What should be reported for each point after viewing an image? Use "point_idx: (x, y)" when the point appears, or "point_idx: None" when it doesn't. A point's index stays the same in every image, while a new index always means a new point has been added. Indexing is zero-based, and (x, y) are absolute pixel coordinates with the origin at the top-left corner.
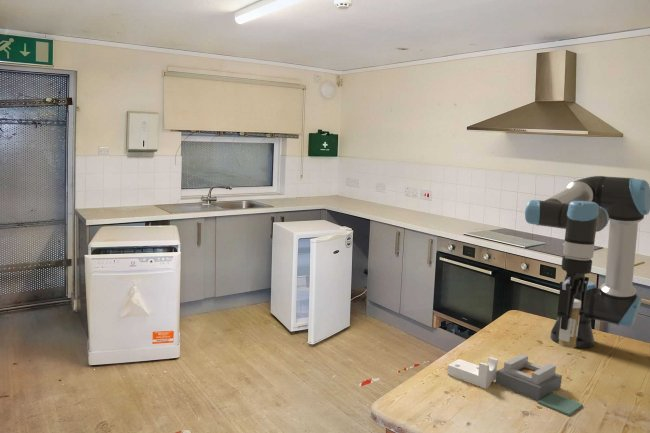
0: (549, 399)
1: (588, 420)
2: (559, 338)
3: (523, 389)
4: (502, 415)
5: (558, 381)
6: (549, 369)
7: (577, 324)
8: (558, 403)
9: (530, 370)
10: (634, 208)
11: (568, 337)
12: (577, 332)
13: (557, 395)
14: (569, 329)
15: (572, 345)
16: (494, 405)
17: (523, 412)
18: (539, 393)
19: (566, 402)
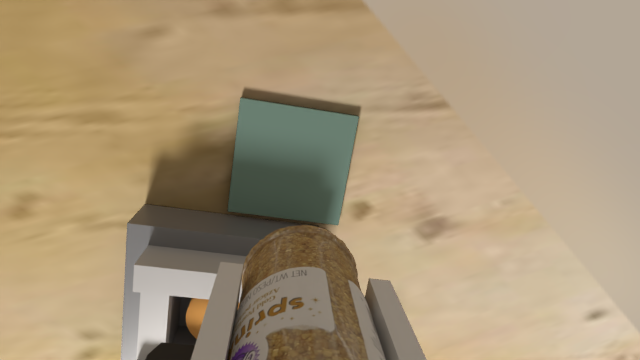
0: (294, 201)
1: (341, 52)
2: None
3: None
4: (494, 269)
5: (160, 219)
6: (200, 271)
7: (322, 339)
8: (302, 168)
9: (187, 324)
10: None
11: (397, 301)
12: (221, 286)
13: (238, 190)
14: (421, 349)
15: (337, 243)
16: (446, 309)
17: (433, 232)
18: None
19: (271, 149)
